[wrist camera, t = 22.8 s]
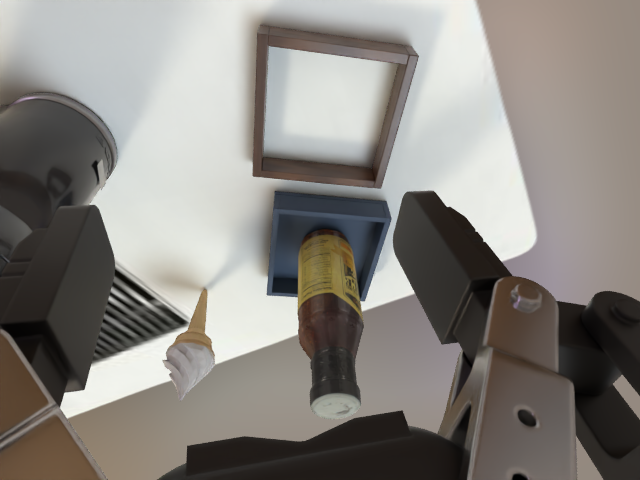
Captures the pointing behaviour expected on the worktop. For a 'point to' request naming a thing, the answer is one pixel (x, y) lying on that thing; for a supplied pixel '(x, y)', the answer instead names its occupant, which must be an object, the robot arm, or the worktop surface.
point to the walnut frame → (342, 48)
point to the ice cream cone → (191, 352)
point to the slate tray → (324, 213)
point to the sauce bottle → (330, 321)
